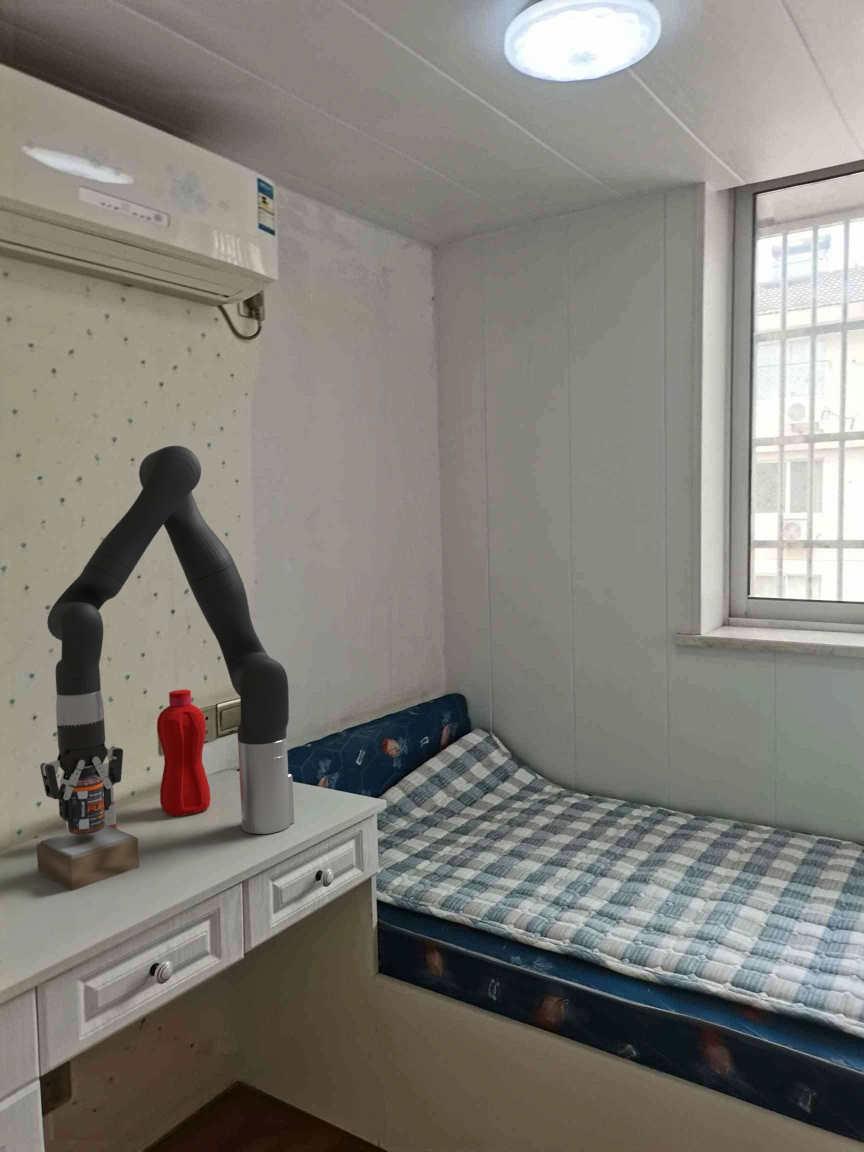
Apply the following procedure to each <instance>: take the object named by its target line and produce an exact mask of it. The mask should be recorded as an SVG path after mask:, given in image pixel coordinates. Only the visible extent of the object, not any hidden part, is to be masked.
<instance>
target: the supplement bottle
mask: <svg viewBox="0 0 864 1152" xmlns="http://www.w3.org/2000/svg"><path fill="white" fill-rule="evenodd" d="M69 779H70V778H69ZM103 786H104V785H103V779H102V778H101V777H100V776H99V775H98V773H97V772H96V768H95V766H94V765H89V766H84V768H83V770H82V771H81V774H80V776H79V779H78V782H77V785H76V786H75V787H74V788H73V791H72V794H71V796H70V799H72V812H73V820H72V821H69V822H68V830H69V832H71V833H73V834H90V833H94V832H97V831H100V830H101V829H103V828H104V826H105V810H104V787H103Z"/></svg>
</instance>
